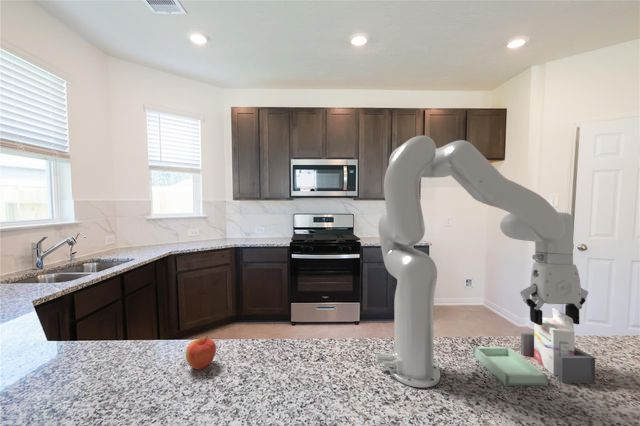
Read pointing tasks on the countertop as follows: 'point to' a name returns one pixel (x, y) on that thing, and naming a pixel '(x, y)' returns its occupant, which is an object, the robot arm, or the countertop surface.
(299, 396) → the countertop surface
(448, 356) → the countertop surface
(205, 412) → the countertop surface
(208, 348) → the apple
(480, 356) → the tray
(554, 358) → the ink cartridge box
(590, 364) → the bracket
